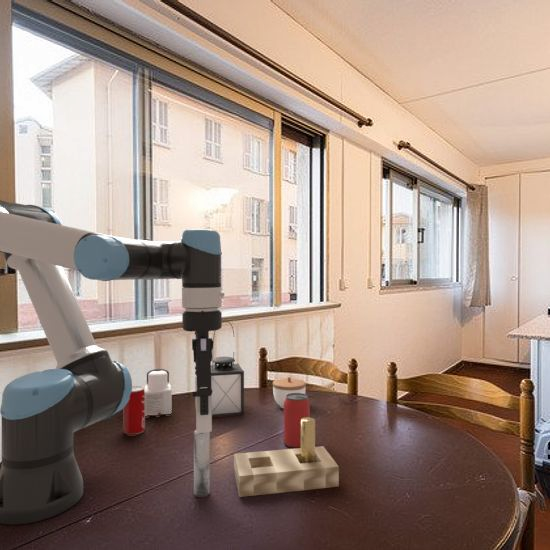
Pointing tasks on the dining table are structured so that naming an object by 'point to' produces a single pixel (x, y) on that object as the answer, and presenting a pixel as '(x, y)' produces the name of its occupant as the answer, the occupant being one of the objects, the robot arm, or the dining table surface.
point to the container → (158, 393)
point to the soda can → (134, 412)
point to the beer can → (294, 417)
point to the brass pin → (307, 440)
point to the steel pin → (201, 464)
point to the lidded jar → (287, 388)
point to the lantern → (227, 386)
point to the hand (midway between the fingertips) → (202, 418)
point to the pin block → (283, 472)
